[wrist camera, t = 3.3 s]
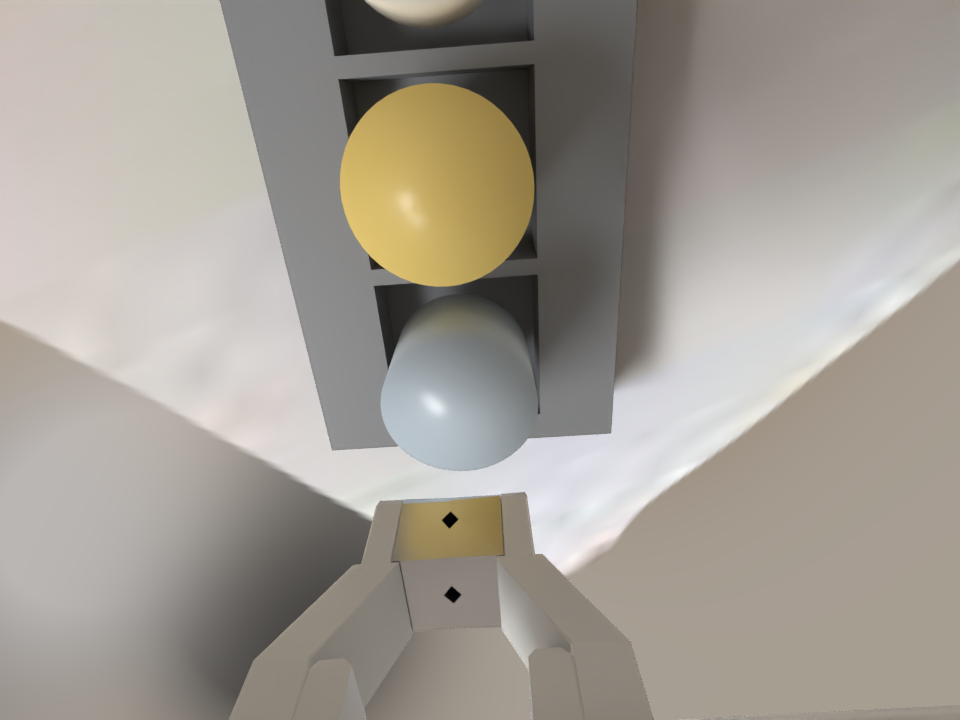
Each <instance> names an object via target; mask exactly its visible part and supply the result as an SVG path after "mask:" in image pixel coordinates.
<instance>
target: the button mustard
mask: <svg viewBox="0 0 960 720" xmlns="http://www.w3.org/2000/svg"><path fill="white" fill-rule="evenodd" d="M340 191H341V200H342V204H343V208H344V212H345V215H346V218H347V220H348V223H349V226H350V228H351V229H352V231H353V233H354V235H355V237H356V239H357V240H358V241H359V243H360V244H361V246H362V247H363V248H364V250H365V251H366V252H367V253H368V254H369V255H370V256H371V257H372V258H373V259H374V260H375V261H376V262H377V263H378V264H379V265H381V266H382V267H384V268H385V269H386V270H388V271H389V272H391V273H393V274H395V275H396V276H398V277H400V278H402V279H405V280H408V281H410V282H413V283H417V284H421V285H427V286H435V287H442V286H454V285H460V284H464V283H468V282H471V281H473V280H476V279H478V278H481V277H483V276H484V275H486V274H488V273H490V272H491V271H493V270H494V269H495V268H497V267H498V266H499V265H501V264H502V263H503V262H504V261H505V260H506V259H507V258H508V257H509V256H510V254H511V253H512V252H513V251H514V249H515V248H516V247H517V245H518V244H519V242H520V240H521V239H522V237H523V235H524V233H525V230H526V228H527V226H528V223H529V220H530V217H531V213H532V208H533V202H534V175H533V169H532V165H531V160H530V157H529V154H528V151H527V148H526V146H525V144H524V142H523V140H522V138H521V136H520V134H519V133H518V131H517V130H516V128H515V127H514V125H513V124H512V122H511V121H510V120H509V119H508V118H507V117H506V115H505V114H504V113H503V112H502V111H501V110H500V109H498V108H497V107H496V106H495V105H494V104H493V103H491V102H490V101H488V100H487V99H485V98H484V97H482V96H480V95H478V94H476V93H474V92H472V91H470V90H468V89H464V88H461V87H458V86H455V85H448V84H441V83H425V84H419V85H413V86H409V87H406V88H403V89H400V90H398V91H396V92H394V93H392V94H389V95H387V96H386V97H384V98H383V99H382V100H380V101H379V102H377V103H376V104H375V105H374V106H373V107H372V108H370V109H369V110H368V111H367V112H366V113H365V115H364V116H363V117H362V118H361V120H360V121H359V122H358V123H357V125H356V127H355V128H354V130H353V132H352V133H351V135H350V138H349V140H348V142H347V145H346V147H345V151H344V154H343V158H342V163H341V171H340Z"/></svg>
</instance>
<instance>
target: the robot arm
mask: <svg viewBox="0 0 960 720" xmlns="http://www.w3.org/2000/svg"><path fill="white" fill-rule="evenodd" d="M501 510H502V511H501ZM502 525H503V526H502ZM489 627H490V628H491V627H502V631H503V632H504V634H505V635H506V637H507V638H508V640H509V641H510V643H511V644H512V646H513V647H514V649H515V650H516V652H517V653H518V655H519V656H520V658H521V659H522V661H523V662H524V664H525V665H526V667H527V669H528V670H529V685H530V686H529V687H530V709H531V710H530V711H531V720H654V718H653V715H652V712H651V708H650V705H649V702H648V698H647V695H646V691H645V688H644V685H643V681H642V678H641V675H640V671H639V668H638V665H637V661H636V658H635V655H634V651H633V648H632V644H631V642H630V641H629V640H628V639H627V638H626V637H625V636H624V635H623V634H622V633H621V632H620V631H619V630H618V629H617V628H616V627H615V626H614V625H613V624H612V623H611V622H610V621H609V620H608V619H607V618H606V617H605V616H604V615H603V614H602V613H601V612H600V611H599V610H598V609H597V608H596V607H595V606H594V605H593V604H592V603H591V602H590V601H589V600H588V599H587V598H586V597H585V596H584V595H583V594H582V593H581V592H580V591H579V590H578V589H577V588H576V587H575V586H574V585H573V584H572V583H571V582H570V581H569V580H568V579H567V578H566V577H565V576H564V575H563V574H562V573H561V572H560V571H559V570H558V569H557V568H556V567H555V566H554V565H553V564H552V563H551V562H550V561H549V560H548V559H547V558H546V557H545V556H544V555H543V554H535V551H534V544H533V537H532V530H531V522H530V515H529V508H528V501H527V495H526V493H525V492H521V493H509V494H501V498H500V495H488V496H473V497H458V498H435V499H408V500H393V501H380V502H379V503H378V505H377V506H376V509H375V513H374V517H373V521H372V525H371V529H370V533H369V536H368V540H367V544H366V548H365V552H364V555H363V559H362V563H361V564H359V565H353V566H352V567H351V568H350V569H349V570H348V571H347V572H346V573H345V574H344V575H343V576H342V577H340V579H339V580H337V581H336V582H335V583H334V584H333V585H332V586H331V587H330V588H329V589H328V590H327V591H326V592H325V593H324V594H323V595H322V596H321V597H320V598H319V599H317V600H316V602H314V603H313V604H312V605H311V606H310V607H309V608H308V609H307V610H306V611H305V612H304V613H303V614H302V615H301V616H300V617H299V618H298V619H297V620H296V621H294V622H293V623H292V624H291V625H290V626H289V627H288V628H287V629H286V630H285V631H284V632H283V633H282V634H281V635H280V636H279V637H278V638H277V639H276V640H275V641H274V642H273V643H272V644H270V645H269V646H268V647H267V648H266V649H265V650H264V651H263V652H262V653H261V654H260V655H259V656H258V657H257V658H256V659H255V660H254V661H253V663H252V665H251V668H250V670H249V673H248V675H247V677H246V680H245V682H244V685H243V687H242V689H241V692H240V694H239V697H238V699H237V702H236V704H235V706H234V709H233V711H232V714H231V716H230V718H229V720H367V718H366V715H365V711H364V707H365V706H366V704H367V703H368V701H369V700H370V698H371V697H372V695H373V694H374V693H375V691H376V690H377V688H378V687H379V685H380V684H381V682H382V681H383V679H384V677H385V676H386V675H387V673H388V672H389V670H390V668H391V667H392V666H393V664H394V662H395V661H396V659H397V658H398V657H399V655H400V653H401V652H402V651H403V649H404V648H405V646H406V645H407V643H408V641H409V640H410V638H411V637H412V635H413V633H412V632H419V631H431V630H443V629H454V628H489ZM671 720H960V705H957V706H935V707H915V708H895V709H874V710H854V711H834V712H814V713H793V714H773V715H753V716H733V717H711V718H693V719H671Z"/></svg>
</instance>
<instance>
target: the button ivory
mask: <svg viewBox="0 0 960 720" xmlns="http://www.w3.org/2000/svg"><path fill="white" fill-rule="evenodd" d="M364 1H365V2H366V3H367V4H369V5H370V6H371V7H372V8H373V9H374V10H376V11H377V12H378V13H380V14H381V15H383V16H384V17H386V18H387V19H389V20H392V21H394V22H396V23H398V24H401V25H404V26H407V27H412V28H419V29H433V28H439V27H444V26H447V25H450V24H453V23H455V22H457V21H459V20H461V19H463V18H465V17H466V16H468V15H469V14H471V13H472V12H474V11H475V10H476V9H477V8H478V7H479V6H480V5H481V4H482V3H483V2H484V1H485V0H364Z"/></svg>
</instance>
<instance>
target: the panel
mask: <svg viewBox="0 0 960 720" xmlns="http://www.w3.org/2000/svg"><path fill="white" fill-rule="evenodd" d="M220 3H221V7H222V11H223V15H224V19H225V23H226V27H227V31H228V35H229V39H230V43H231V47H232V51H233V55H234V59H235V63H236V67H237V71H238V75H239V79H240V83H241V87H242V91H243V95H244V99H245V103H246V107H247V111H248V115H249V119H250V123H251V127H252V131H253V135H254V139H255V143H256V147H257V151H258V155H259V159H260V163H261V167H262V171H263V175H264V179H265V183H266V187H267V191H268V195H269V199H270V203H271V207H272V211H273V215H274V219H275V223H276V227H277V231H278V235H279V239H280V243H281V247H282V251H283V255H284V259H285V263H286V267H287V271H288V275H289V279H290V283H291V287H292V291H293V295H294V299H295V303H296V307H297V311H298V315H299V319H300V323H301V327H302V332H303V336H304V340H305V344H306V348H307V352H308V356H309V360H310V364H311V368H312V372H313V376H314V380H315V384H316V388H317V392H318V396H319V400H320V404H321V408H322V412H323V416H324V420H325V424H326V428H327V432H328V436H329V440H330V444H331V448H332V450H346V449H363V448H379V447H396V446H398V445H397V444H396V442H395V441H394V440H393V439H392V437H391V436H390V434H389V432H388V431H387V429H386V426H385V424H384V421H383V418H382V414H381V405H380V403H381V393H382V388H383V384H384V381H385V378H386V375H387V372H388V369H389V366H390V364H391V361H392V358H393V355H394V352H395V349H396V346H397V343H398V340H399V337H400V334H401V331H402V329H403V327H404V325H405V323H406V322H407V320H408V319H409V318H410V316H411V315H412V314H413V313H414V312H415V311H416V310H417V309H419V308H420V307H421V306H423V305H424V304H426V303H428V302H430V301H431V300H434V299H436V298H439V297H442V296H446V295H452V294H471V295H477V296H481V297H484V298H487V299H489V300H492V301H494V302H495V303H497V304H499V305H501V306H502V307H503V308H505V309H506V310H507V311H508V312H509V313H510V314H511V315H512V316H513V317H514V318H515V320H516V321H517V322H518V324H519V325H520V327H521V329H522V331H523V334H524V336H525V340H526V344H527V349H528V353H529V358H530V362H531V367H532V372H533V376H534V381H535V385H536V390H537V395H538V414H537V419H536V422H535V425H534V428H533V430H532V432H531V434H530V435H529V437H528V438H543V437H559V436H576V435H592V434H608V433H611V426H612V410H613V393H614V377H615V361H616V344H617V328H618V311H619V295H620V278H621V262H622V245H623V229H624V212H625V196H626V180H627V163H628V147H629V130H630V114H631V97H632V81H633V64H634V48H635V32H636V15H637V0H485V1H484V2H483V3H482V4H481V5H480V6H479V7H478V8H477V9H476V10H475V11H474V12H472V13H471V14H469V15H468V16H466V17H465V18H463V19H461V20H459V21H457V22H455V23H453V24H450V25H447V26H444V27H439V28H433V29H419V28H412V27H407V26H404V25H401V24H398V23H396V22H394V21H392V20H389V19H387V18H386V17H384V16H383V15H381V14H380V13H378V12H377V11H376V10H374V9H373V8H372V7H371V6H370V5H369V4H367V3H366V2H365V1H364V0H220ZM425 83H441V84H448V85H455V86H458V87H461V88H464V89H468V90H470V91H472V92H474V93H476V94H478V95H480V96H482V97H484V98H485V99H487V100H488V101H490V102H491V103H493V104H494V105H495V106H496V107H497V108H498V109H500V110H501V111H502V112H503V113H504V114H505V115H506V117H507V118H508V119H509V120H510V121H511V122H512V124H513V125H514V127H515V128H516V130H517V131H518V133H519V134H520V136H521V138H522V140H523V142H524V144H525V146H526V148H527V151H528V154H529V157H530V160H531V165H532V169H533V175H534V202H533V208H532V213H531V217H530V220H529V223H528V226H527V228H526V230H525V233H524V235H523V237H522V239H521V240H520V242H519V244H518V245H517V247H516V248H515V249H514V251H513V252H512V253H511V254H510V256H509V257H508V258H507V259H506V260H505V261H504V262H503V263H502V264H501V265H499V266H498V267H497V268H495V269H494V270H493V271H491V272H490V273H488V274H486V275H484V276H483V277H481V278H478V279H476V280H473V281H471V282H468V283H464V284H460V285H454V286H442V287H435V286H427V285H421V284H417V283H413V282H410V281H408V280H405V279H402V278H400V277H398V276H396V275H395V274H393V273H391V272H389V271H388V270H386V269H385V268H384V267H382V266H381V265H379V264H378V263H377V262H376V261H375V260H374V259H373V258H372V257H371V256H370V255H369V254H368V253H367V252H366V251H365V250H364V248H363V247H362V246H361V244H360V243H359V241H358V240H357V239H356V237H355V235H354V233H353V231H352V229H351V228H350V226H349V223H348V220H347V218H346V215H345V212H344V208H343V204H342V200H341V191H340V171H341V163H342V158H343V154H344V151H345V147H346V145H347V142H348V140H349V138H350V135H351V133H352V132H353V130H354V128H355V127H356V125H357V123H358V122H359V121H360V120H361V118H362V117H363V116H364V115H365V113H366V112H367V111H368V110H369V109H370V108H372V107H373V106H374V105H375V104H376V103H377V102H379V101H380V100H382V99H383V98H384V97H386V96H387V95H389V94H392V93H394V92H396V91H398V90H400V89H403V88H406V87H409V86H413V85H419V84H425Z"/></svg>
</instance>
